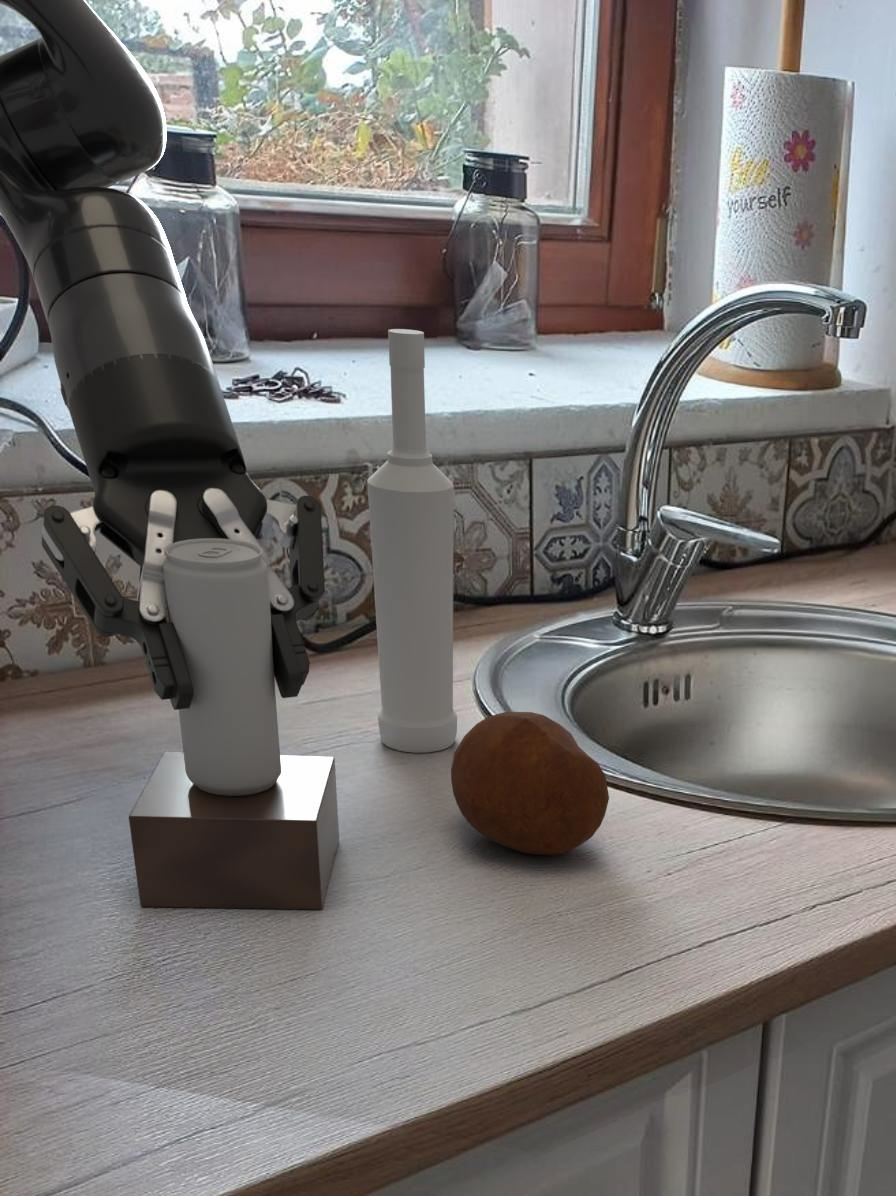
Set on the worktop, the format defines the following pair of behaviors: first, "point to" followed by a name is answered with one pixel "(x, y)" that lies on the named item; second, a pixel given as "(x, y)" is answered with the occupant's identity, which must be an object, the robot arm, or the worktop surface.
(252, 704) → the beverage can
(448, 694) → the bottle
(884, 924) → the worktop surface
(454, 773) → the potato
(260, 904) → the metal block
